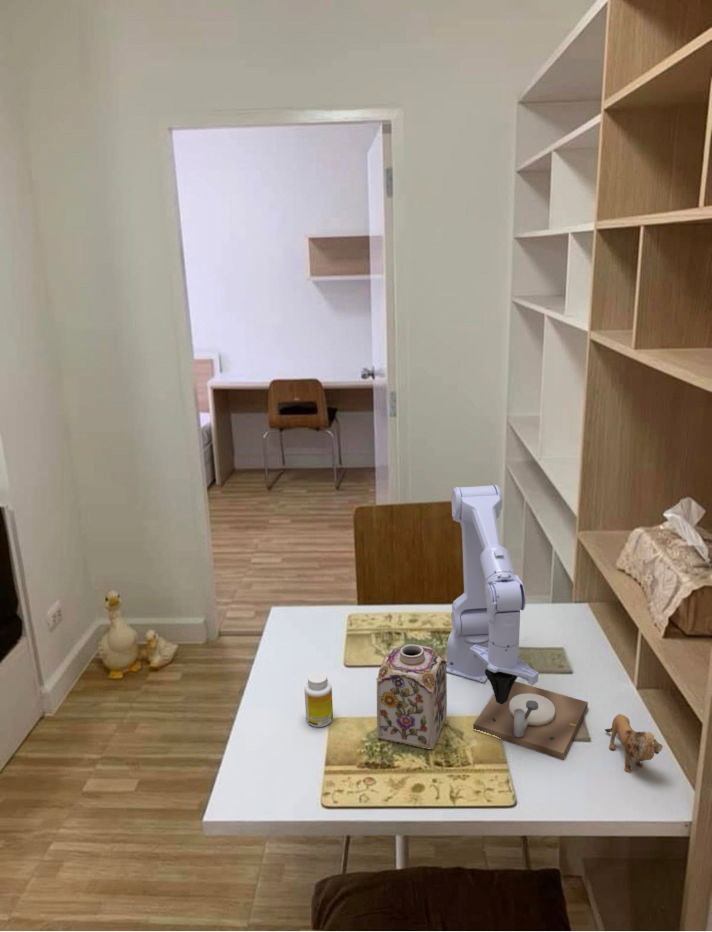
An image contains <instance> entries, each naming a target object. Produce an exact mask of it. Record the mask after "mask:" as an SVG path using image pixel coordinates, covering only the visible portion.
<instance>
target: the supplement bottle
mask: <svg viewBox="0 0 712 932" xmlns="http://www.w3.org/2000/svg"><path fill="white" fill-rule="evenodd" d="M332 688H333V687H332V684H331V682H330V681H329V680H328V675H327V673H325V672H323V671H314V672H312V673H310V674H309V675H308V676H307V683H305V685H304V702H305V717H306V722H307V723H308V724H309V725H310V726H312V727H315V728H316V727H317V728H322V727H326V726H327V725H329V724H331V723H332V721H333V719H334V718H333V717H334V712H333V711H334V709H333V708H334V706H333V691H332V690H333V689H332Z"/></svg>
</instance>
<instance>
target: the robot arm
mask: <svg viewBox="0 0 712 932" xmlns="http://www.w3.org/2000/svg"><path fill="white" fill-rule="evenodd" d="M450 497H451V516H452V521H453V522H457V523H460V527H461V539H462V542H461V543H462V567H463V568H462V571H463V572H462V573H463V593H462V594H461V595H460V596H458V597H457V598H456V599H455V600H453V601H452V604H451V614H450V615H451V618H450V620H451V622H450V623H451V631H450V632H449V635H448V638H447V642H446V662H447V663H446V666H447V667H446V670H447V673H449V674H452V675H455V676H458V677H463V678H465V679H466V678H467V679H469V680H473V681H476V682H479V683H486V681H487V679H488V681H489V683H490V685H491V687H492V690H493V695H494V694H495V698H496V702H498V703H499V704H504V703H505V702H506V701H508V697H509V693H510V691H511V688H512V686H513V684H514V682H515V681H516V680H517V679H518V678H520V679H523V680H524V681H527V685H530V686H534V685H535V684H537V683H538V682H539V674H540V673H539V671H537V670H535V669H534V668H532V667H530V666H529V665H528V664H527V663H526V662H525V661H523V660H522V659H520V658H519V657H520V655H519V654H520V652H519V651H520V628H521V611H524V610H525V608H526V601H527V598H526V591H525V586H524V584H523V581H522V580H521V579H520V577H519V575H518V574H515V570H514V566H513V563H512V558H511V556H510V552H509V550H508V549H506V548H505V547H503V546H502V542H501V538H500V531H499V526H498V520H497V519H498V518H500V515H501V511H502V509H503V495H502V490H501V487H499V486H498V485H497V484H492V485H481V486H478V485H477V486H476V485H475V486H462V487H461V486H455V487H454V488H453V489H452V492H451V496H450Z"/></svg>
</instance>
